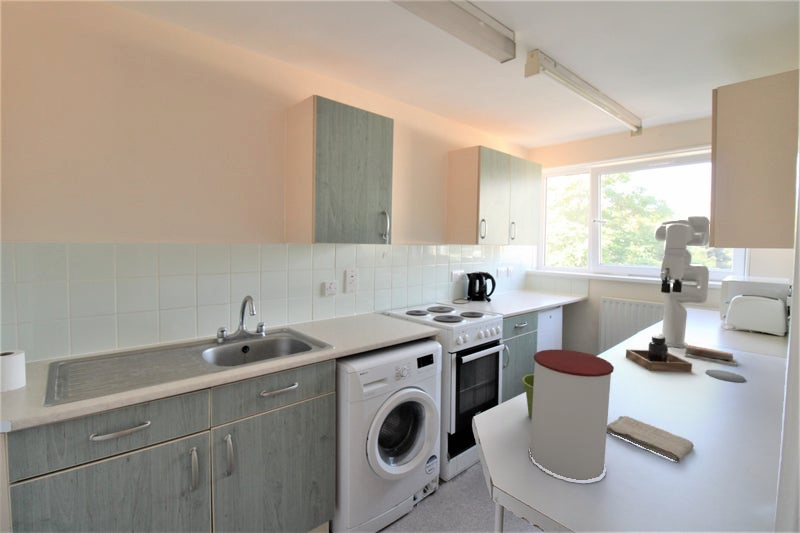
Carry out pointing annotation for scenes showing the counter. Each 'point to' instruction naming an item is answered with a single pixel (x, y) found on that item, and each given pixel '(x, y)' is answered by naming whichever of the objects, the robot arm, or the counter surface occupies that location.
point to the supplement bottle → (657, 349)
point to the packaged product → (710, 355)
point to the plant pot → (529, 391)
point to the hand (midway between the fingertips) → (671, 292)
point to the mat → (725, 375)
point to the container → (570, 413)
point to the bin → (671, 365)
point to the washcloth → (651, 437)
